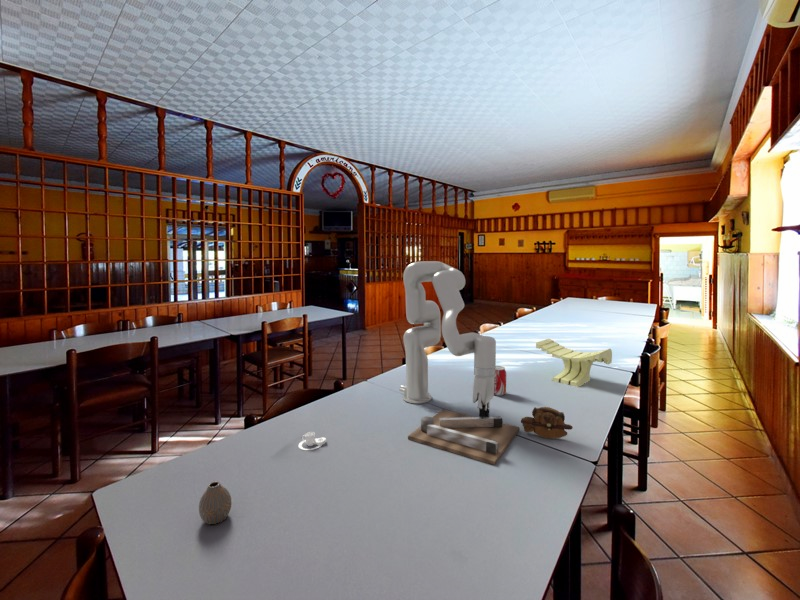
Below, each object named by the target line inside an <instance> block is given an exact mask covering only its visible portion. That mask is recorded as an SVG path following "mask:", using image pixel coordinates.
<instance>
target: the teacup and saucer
mask: <svg viewBox="0 0 800 600" xmlns="http://www.w3.org/2000/svg"><path fill="white" fill-rule="evenodd" d="M304 437H305V438H304ZM315 437H316V433H315V431H308V432H306V433H305V434H303V435H302V437H301V439H302V441H300V442H299V443H298V445H297V446H298V449H299V450H302V451H314V450H317V449H319V448H321V447H322V446H323V445H324V444H326V442H327V438H326V437H319V438H315ZM304 443H305V444H306V445H307V446H308V447H311V448H305V447H303V444H304ZM314 445H317V446H315V447H313V446H314ZM312 447H313V448H312Z"/></svg>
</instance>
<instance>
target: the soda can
mask: <svg viewBox="0 0 800 600" xmlns="http://www.w3.org/2000/svg"><path fill="white" fill-rule="evenodd" d="M506 393H507V370H506V368H505V367H504V366H501V365H496V367H495V377H494V396H498V397H499V396H504V395H505V394H506Z"/></svg>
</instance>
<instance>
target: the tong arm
mask: <svg viewBox="0 0 800 600" xmlns="http://www.w3.org/2000/svg"><path fill="white" fill-rule="evenodd" d="M502 423H503V418H502V416H501V415H497V416H496V415H493V416H489V417H479V416H474V417H462V418H439V426H440V427H444V428H467V427H502Z"/></svg>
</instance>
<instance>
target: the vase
mask: <svg viewBox="0 0 800 600" xmlns="http://www.w3.org/2000/svg"><path fill="white" fill-rule="evenodd" d="M231 508H232V496H231V493H230V492H229V490H228V489H227V488H226V487H225V486H223V485H222V484H221V483H220V482H219V481H212V482H211V483H209V484H208V486H207V487H206V490H205V491H204V492H203V494H202V495H201V497H200V499H199V503H198V513H199V517H200V519H201V521H203V523H205V524H206V525H210V524H215V525H217V524H216V523H218V524H220V523H221V521H222V522H224V520H225V519H226V518H227V517H228V516H229V514H230V512H231ZM219 522H220V523H219Z"/></svg>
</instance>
